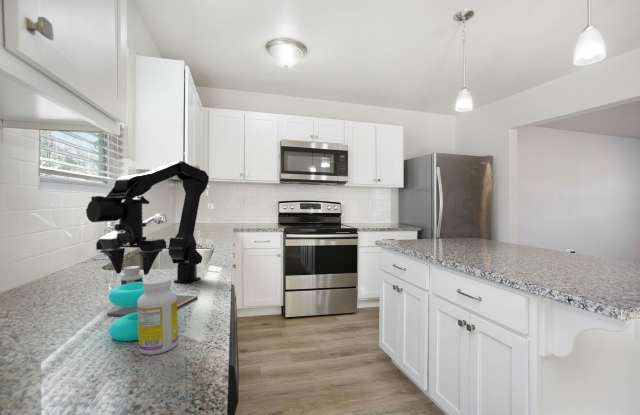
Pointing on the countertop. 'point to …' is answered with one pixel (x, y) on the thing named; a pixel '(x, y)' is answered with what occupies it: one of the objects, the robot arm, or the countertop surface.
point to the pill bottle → (131, 275)
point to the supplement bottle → (157, 317)
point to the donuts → (128, 324)
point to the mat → (124, 311)
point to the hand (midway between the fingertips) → (132, 274)
